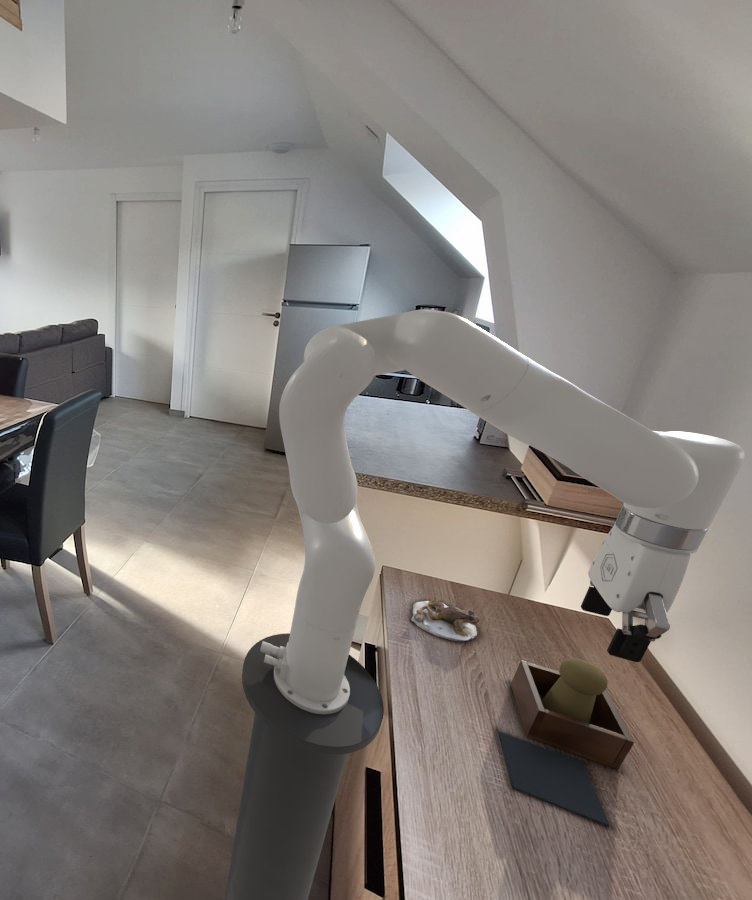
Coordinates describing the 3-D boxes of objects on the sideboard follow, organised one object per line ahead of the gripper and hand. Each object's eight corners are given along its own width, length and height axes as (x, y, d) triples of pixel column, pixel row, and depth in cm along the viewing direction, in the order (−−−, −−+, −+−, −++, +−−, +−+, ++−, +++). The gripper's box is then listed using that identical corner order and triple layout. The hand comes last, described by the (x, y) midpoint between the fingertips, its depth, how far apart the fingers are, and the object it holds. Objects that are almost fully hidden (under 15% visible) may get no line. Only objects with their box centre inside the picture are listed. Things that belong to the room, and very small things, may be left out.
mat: (512, 788, 61) (513, 786, 61) (498, 732, 69) (499, 731, 68) (608, 826, 57) (609, 825, 57) (582, 763, 65) (583, 761, 64)
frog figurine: (476, 615, 93) (482, 600, 92) (478, 652, 84) (484, 636, 82) (414, 594, 99) (418, 579, 97) (409, 626, 89) (414, 611, 88)
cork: (594, 745, 67) (625, 690, 63) (545, 731, 69) (571, 676, 65) (575, 711, 72) (602, 658, 68) (529, 698, 74) (553, 646, 70)
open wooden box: (526, 736, 68) (538, 710, 66) (510, 684, 77) (520, 659, 75) (618, 769, 64) (634, 742, 62) (590, 710, 73) (603, 685, 71)
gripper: (594, 495, 67) (554, 590, 73) (652, 553, 52) (596, 667, 58) (662, 506, 64) (616, 605, 70) (744, 572, 49) (676, 689, 55)
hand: (607, 633), depth 64 cm, fingers open, 9 cm apart
